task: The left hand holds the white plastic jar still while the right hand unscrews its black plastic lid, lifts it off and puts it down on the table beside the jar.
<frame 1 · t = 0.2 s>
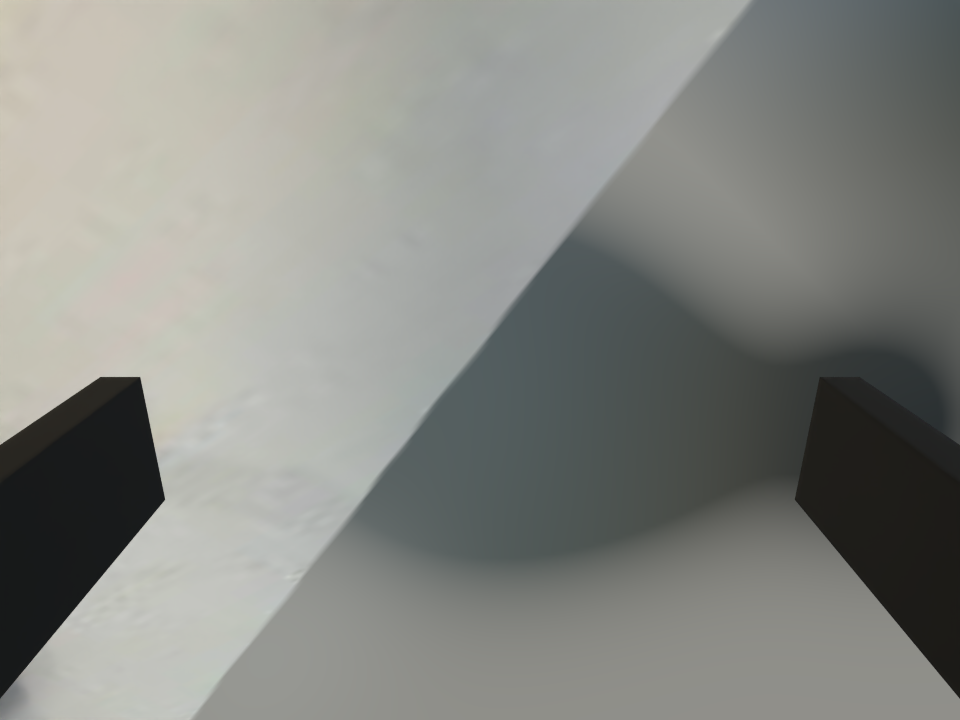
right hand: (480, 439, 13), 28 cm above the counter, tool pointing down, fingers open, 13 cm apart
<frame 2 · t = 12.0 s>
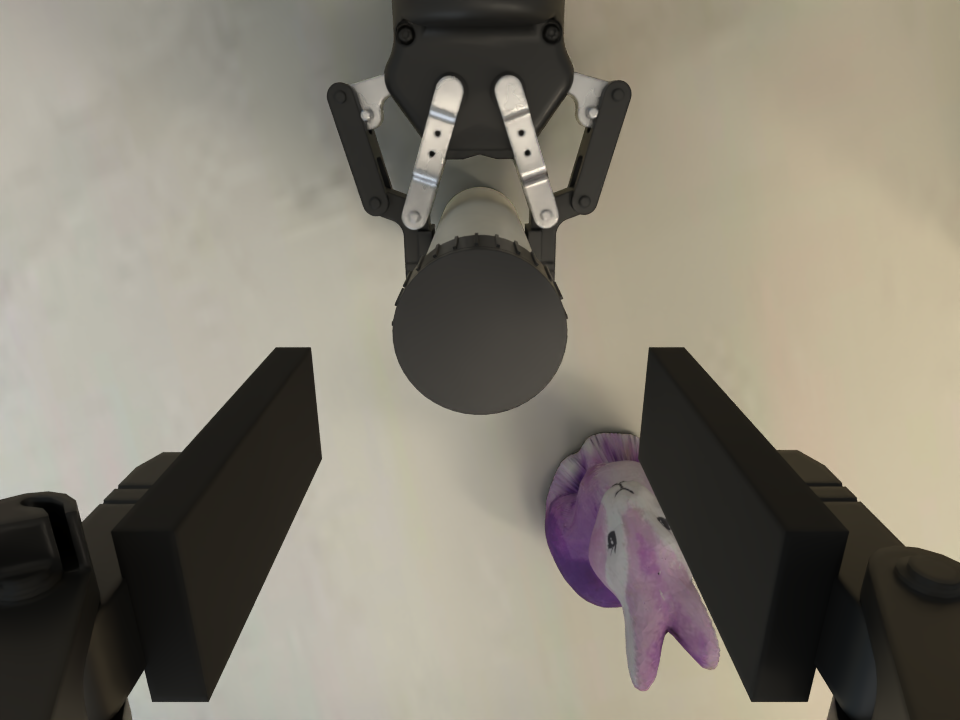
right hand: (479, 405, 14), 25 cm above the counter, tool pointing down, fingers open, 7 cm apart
left hand: (481, 298, 33), fingers closed on jar, 4 cm apart
lid: (479, 332, 19), point 20 cm above the counter, screwed on, not yet turned
figurine: (598, 487, 44), on the counter
jar: (480, 227, 37), on the counter, touching left hand
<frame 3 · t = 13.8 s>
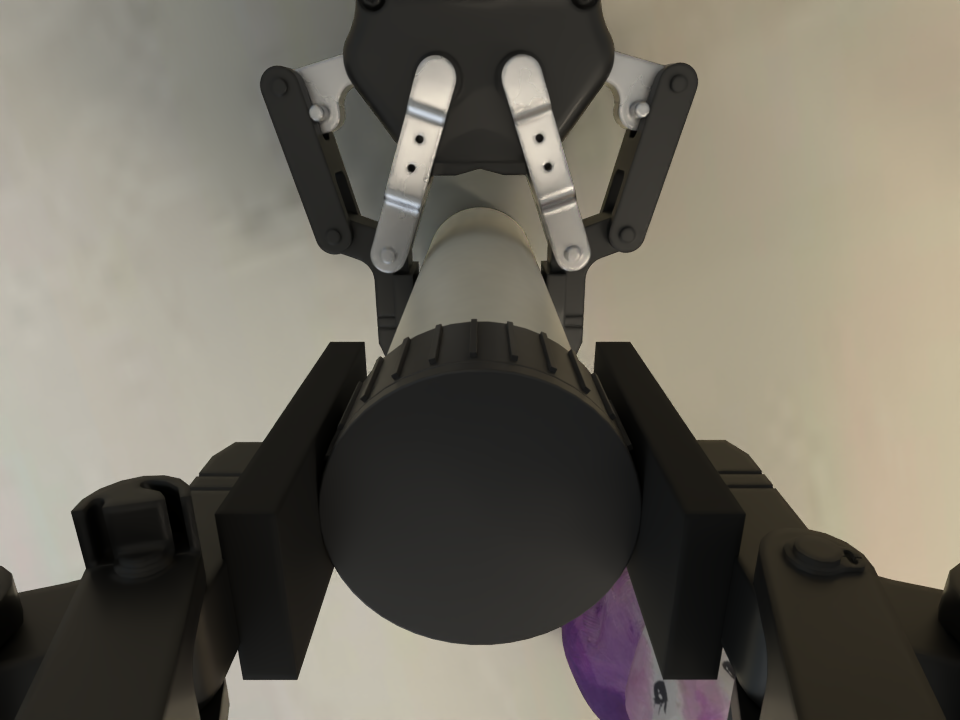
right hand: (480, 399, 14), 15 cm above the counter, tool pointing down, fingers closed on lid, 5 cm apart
left hand: (481, 361, 24), fingers closed on jar, 4 cm apart
lid: (480, 507, 10), point 20 cm above the counter, screwed on, not yet turned, touching right hand
figurine: (627, 577, 35), on the counter
jar: (480, 259, 29), on the counter, touching left hand
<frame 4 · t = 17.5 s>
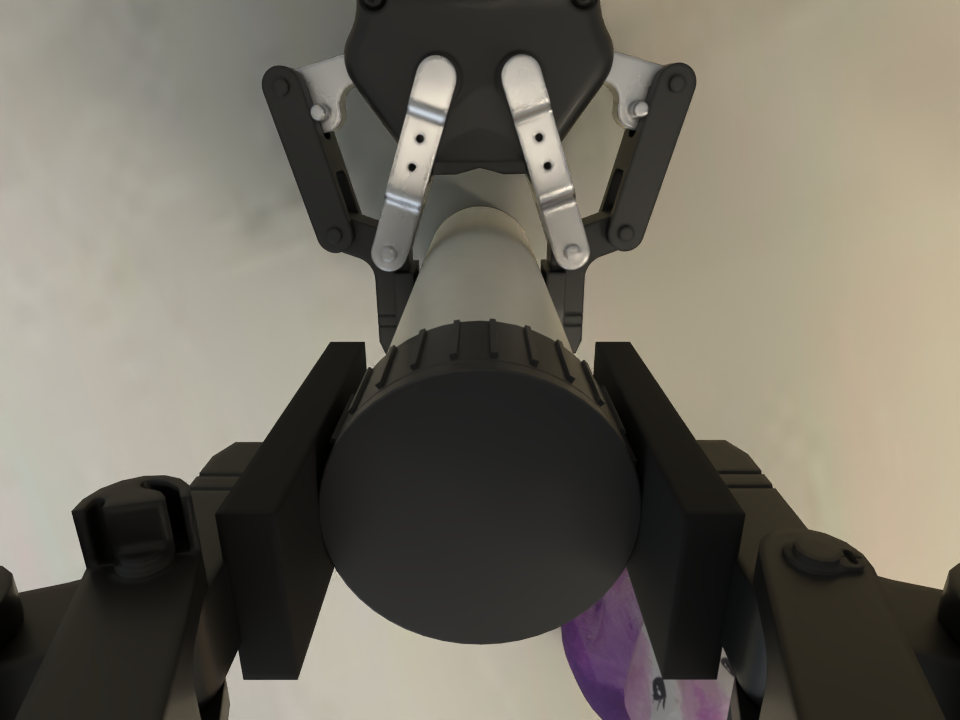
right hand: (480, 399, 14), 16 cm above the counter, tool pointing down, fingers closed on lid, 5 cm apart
left hand: (481, 360, 24), fingers closed on jar, 4 cm apart
lid: (480, 506, 10), point 20 cm above the counter, turned 131° so far, risen 0.2 cm, still on its thread, touching right hand
figurine: (627, 575, 35), on the counter
jar: (480, 258, 29), on the counter, touching left hand
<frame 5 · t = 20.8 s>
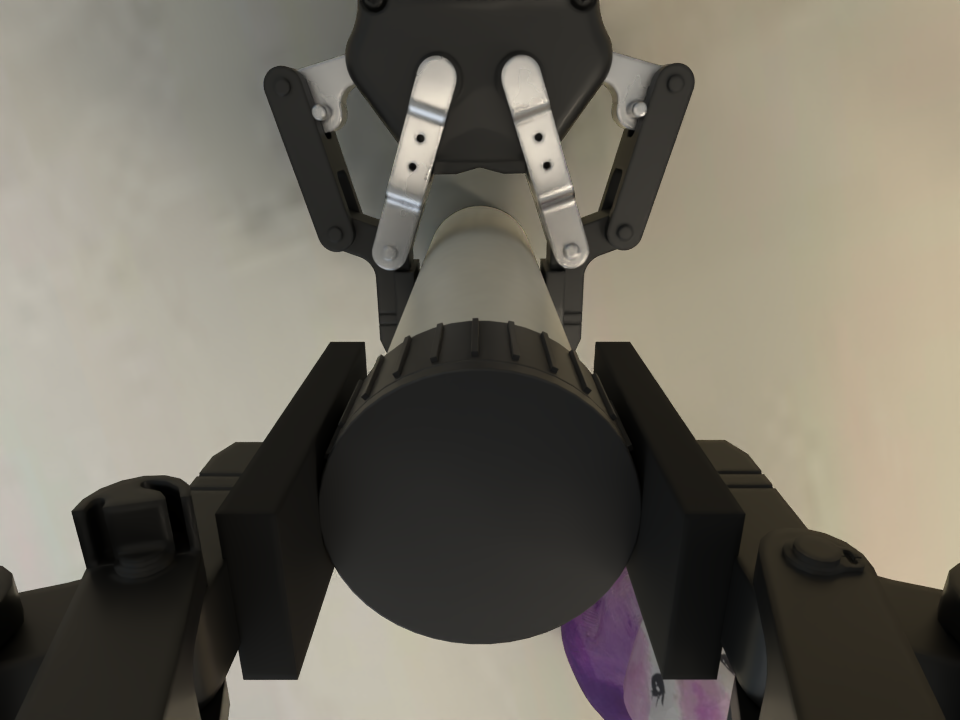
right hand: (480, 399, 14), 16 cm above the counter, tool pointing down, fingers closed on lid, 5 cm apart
left hand: (481, 358, 24), fingers closed on jar, 4 cm apart
lid: (480, 506, 10), point 20 cm above the counter, turned 263° so far, risen 0.3 cm, still on its thread, touching right hand
figurine: (626, 573, 35), on the counter
jar: (480, 257, 29), on the counter, touching left hand
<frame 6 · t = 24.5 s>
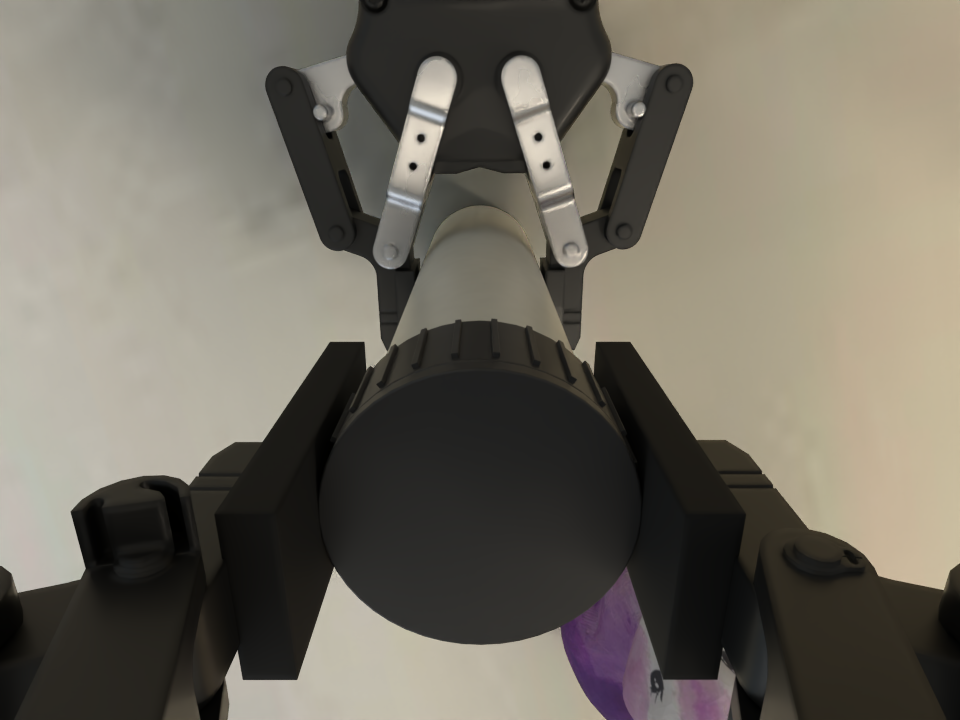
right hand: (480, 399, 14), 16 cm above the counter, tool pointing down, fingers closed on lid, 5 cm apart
left hand: (481, 356, 24), fingers closed on jar, 4 cm apart
lid: (480, 507, 10), point 20 cm above the counter, turned 394° so far, risen 0.5 cm, still on its thread, touching right hand
figurine: (625, 571, 35), on the counter
jar: (480, 256, 29), on the counter, touching left hand
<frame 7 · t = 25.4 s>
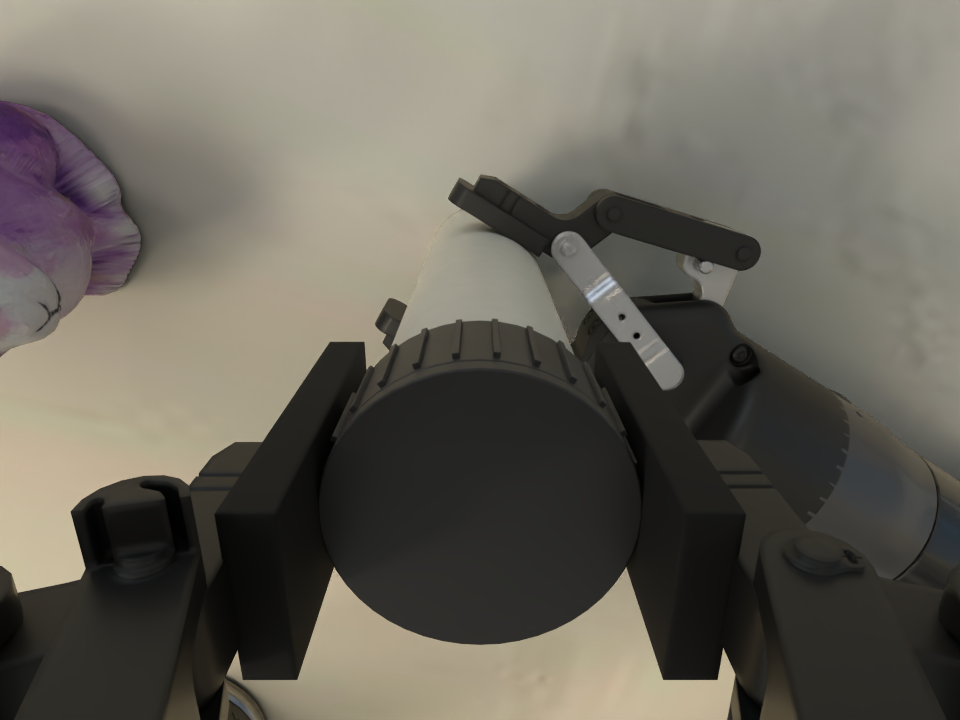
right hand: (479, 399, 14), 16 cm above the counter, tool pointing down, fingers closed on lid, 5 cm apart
left hand: (418, 253, 23), fingers closed on jar, 4 cm apart
lid: (480, 507, 10), point 20 cm above the counter, off its thread, touching right hand
figurine: (50, 202, 29), on the counter
jar: (480, 256, 29), on the counter, touching left hand
when the right hand's fingers open (0 cm above the counter, at t = 31.0 s): lid drops 2 cm, point 2 cm above the counter.
when the left hand's fingers open (6 cm above the counter, at t = 32.1 s): jar stays where it is, on the counter.
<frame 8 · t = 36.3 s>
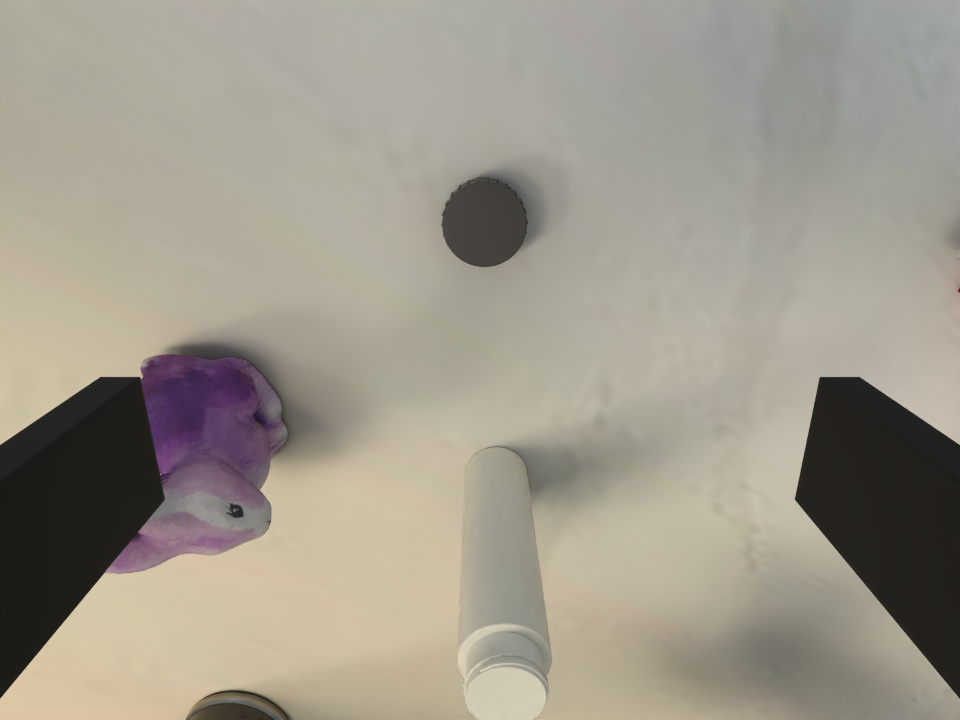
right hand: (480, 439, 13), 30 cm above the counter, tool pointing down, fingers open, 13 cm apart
lid: (484, 224, 39), point 2 cm above the counter, off its thread
figurine: (235, 406, 45), on the counter
jar: (496, 474, 47), on the counter
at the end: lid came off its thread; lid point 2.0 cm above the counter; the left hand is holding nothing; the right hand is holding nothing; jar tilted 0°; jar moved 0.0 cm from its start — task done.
